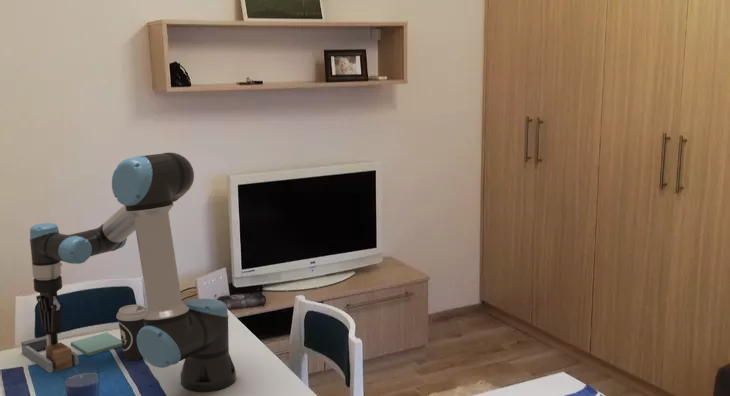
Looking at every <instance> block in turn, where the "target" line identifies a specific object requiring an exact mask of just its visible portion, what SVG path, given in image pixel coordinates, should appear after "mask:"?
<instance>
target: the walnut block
mask: <svg viewBox="0 0 730 396" xmlns="http://www.w3.org/2000/svg"><path fill="white" fill-rule="evenodd" d="M45 347H46V348H45V357H46V358H47V359H49V360H50V361H51V362H52V364H53V371H56V372H58V371H62V370H66V369H69V368H72V367H73V363H72V355H71V351H72V348H71V347H69V346H68V345H65V344H64V343H63V342H61V341H60V342H59V343H57V344H53V345H49V346H45Z"/></svg>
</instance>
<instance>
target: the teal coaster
mask: <svg viewBox="0 0 730 396" xmlns="http://www.w3.org/2000/svg"><path fill="white" fill-rule="evenodd" d="M70 347H73V348H74V349H76V350H78V351H80V352H81V353H82V354H84V355H85V356H88V357H90V356H93V355H96V354H100V353H103V351H104V352H107V351H110V349H111V350H113V349H116V348H121V347H122V341H121V338H118V337H116V336H114V335H112V334H111V333H109V332H103V333H100V334H95V335H93V336H89V337H85V338H82V339H81V338H80V339H78V340H74V341H70ZM106 350H107V351H106Z"/></svg>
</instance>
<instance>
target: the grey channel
mask: <svg viewBox="0 0 730 396" xmlns="http://www.w3.org/2000/svg"><path fill="white" fill-rule="evenodd" d="M58 343H60V342H59V341H58ZM20 345H21V354H22V355H23V356H25V357H26V358H28V359H29V360H31V361H32V362H34V363H35V364H36V365H37V366H39V367H40V368H42V369H43V370H44V371H46V372H48V373H49V374H50V373H53V372H54V369H53V364H52V362H51V361H50V360H49V359H47V358H46V356H44V355H43V354H42V353H40V352H39V351H40V350H46V347H45V346H47V340H46V335H44V336H40V337H35V338H32V339H28V340H25V341H21V342H20ZM71 355H72V365H73V366H74V365H75V366H78V365H79V363H80V362H79V354H78V353H76V352H75V351H73V350H71Z"/></svg>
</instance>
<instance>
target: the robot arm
mask: <svg viewBox="0 0 730 396" xmlns="http://www.w3.org/2000/svg"><path fill="white" fill-rule="evenodd" d="M194 171H195V170H194V168H193V166H192V164H191V162H190V161H189V160H188V158H186V157H185V156H183V155H181V154H179V153H177V152H163V153H156V154H146V155H137V156H134V157H128V158H125V159H123V160H121V161H120V162H119V163H118V164H117V166H116V167H115V169H114V170H113V173H112V177H111V190H112V193H113V196H114V198H116V200H117V202H118V203H120V204H121V205H122V206H121V207H120V208H119V209H118V210H117V211H116V212H114V214H112V215H111V216H110V217H109V218H108V219H107V220H106V221H105V222H103V224H101V225H100V226H99V227H97V228H93V229H88V230H85V231H80V232H75V233H71V234H64V233H60V231H59V227H58V225H57V224H55V223H52V222H45V223H38V224H34V225H32V226H31V227H30V229H29V233H30V234H29V236H30V237H29V244H30V252H31V266H32V267H31V268H32V269H31V271H32V277H33V289H34V291H35V292H36V293H39V295H36V296H35V297H36V301H37V304H38V310H39V316H40V322H41V323H40V324H41V328H42V329H44V332H45V336H46V340H47V346H49V345H53V344H57V343H58V342H59V337H58V335H59V333H61V331H62V310H63V306H64V305H63V303H62V302H60V303H59V296H58V291H60V290H61V289H62V288H63V280H62V279H63V277H62V276H61V274H62V266H63V264H62V263H61V262H64V263H67V264H71V265H72V264H74V265H75V264H76V265H79V264H83V263H85V262H86V261H87V260H88V259H89V258H91V257H95V256H97V255H101V254H105V253H109V252H115V251H117V250H119V249H122V248H123V247H125V245H126V242H127V240H128V237H130V235H132V234H133V233H134V232H135V235H136V240H137V246H138V255H139V261H140V267H141V272H142V279H143V285H144V293H145V298H146V305H147V311H146V313H145V314H144V315H143V320H144V327H143V328H141V330H140V331H139V332H138V333H139V334H138V335H137V346H138V349H139V351H140V353H141V355H142V356H143V358H142V359H144V360H146V362H147V364H150V366H151V365H152V366H153V367H155V368H159V369H162V368H167V367H170V366H172V365H177V364H179V362H181V361H184V362H183V365H182V368H181V371H180V384H181V386H182V387H183V388H185V389H186V390H189V391H193V392H213V391H219V390H222V389H225V388H228V387H230V386H231V385H232V384H234V383H235V382H236V378H237V375H236V368H235V364H234V363H233V359H232V357H231V354H230V351H229V350H230V349H229V348H230V347H229V342H230V341H229V314H228V313H229V312H228V305H227V304H226V303H225V302H224V301H223V300H220V299H215V298H191V299H188V300H185V302H184V303H183V300H182V293H181V287H180V281H179V280H180V279H179V273H178V267H177V261H176V254H175V247H174V241H173V235H172V228H171V222H170V214H169V212H170V210H172V208H173V206H174V202H177V201H178V200H179V199H181V198H182V197H183V196H184V195H185V194H186V193H187V192H189V190H190V189H191V188H192V185H193V183H194V180H195V172H194Z"/></svg>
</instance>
